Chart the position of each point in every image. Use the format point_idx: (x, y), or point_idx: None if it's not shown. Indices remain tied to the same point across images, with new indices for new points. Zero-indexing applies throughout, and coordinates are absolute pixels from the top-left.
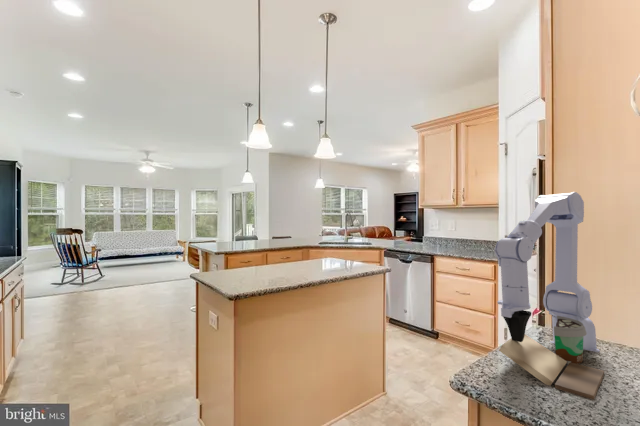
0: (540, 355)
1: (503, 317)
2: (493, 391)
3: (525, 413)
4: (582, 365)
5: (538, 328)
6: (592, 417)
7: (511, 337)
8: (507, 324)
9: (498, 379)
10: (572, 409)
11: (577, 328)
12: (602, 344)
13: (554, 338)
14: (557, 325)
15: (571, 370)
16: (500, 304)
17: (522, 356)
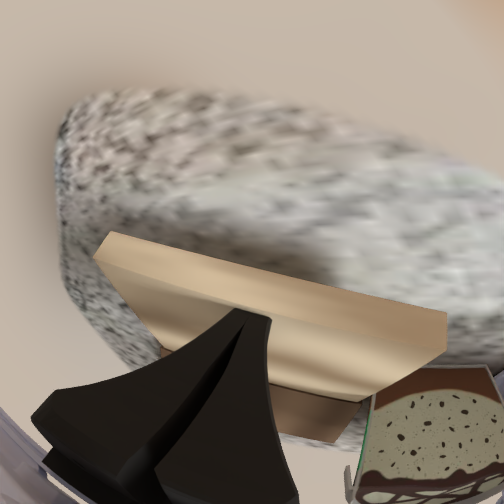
0: (276, 366)
1: (85, 385)
2: (76, 204)
3: (61, 269)
4: (348, 421)
5: None
6: (130, 363)
7: (227, 314)
8: (151, 364)
9: (135, 201)
10: (129, 344)
11: None
12: None
13: None
14: (424, 489)
15: (289, 399)
16: (18, 501)
17: (156, 315)
